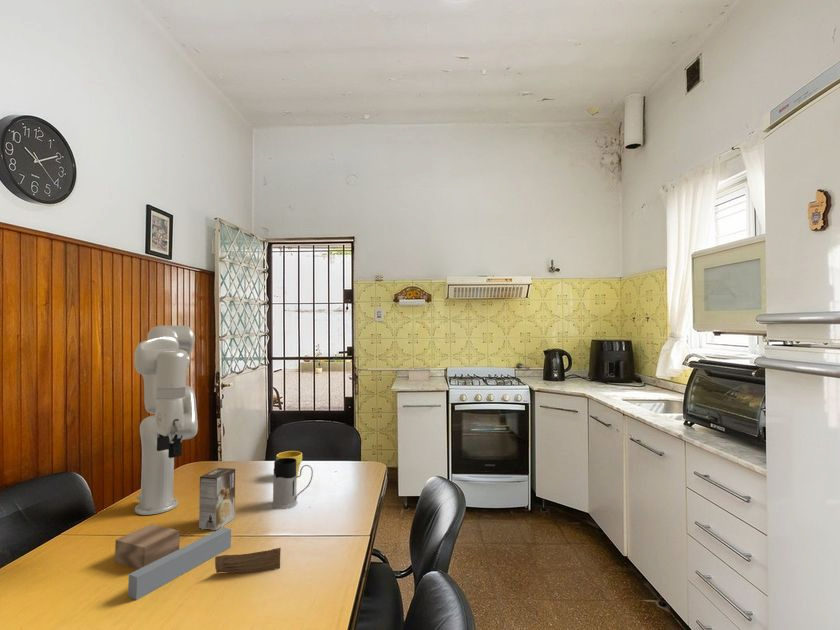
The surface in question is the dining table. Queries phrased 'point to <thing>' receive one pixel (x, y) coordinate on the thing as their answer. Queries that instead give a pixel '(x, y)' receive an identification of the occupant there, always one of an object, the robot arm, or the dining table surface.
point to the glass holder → (286, 483)
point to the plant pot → (291, 454)
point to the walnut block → (146, 546)
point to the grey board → (177, 563)
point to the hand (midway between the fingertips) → (168, 453)
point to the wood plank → (248, 562)
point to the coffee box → (217, 498)
